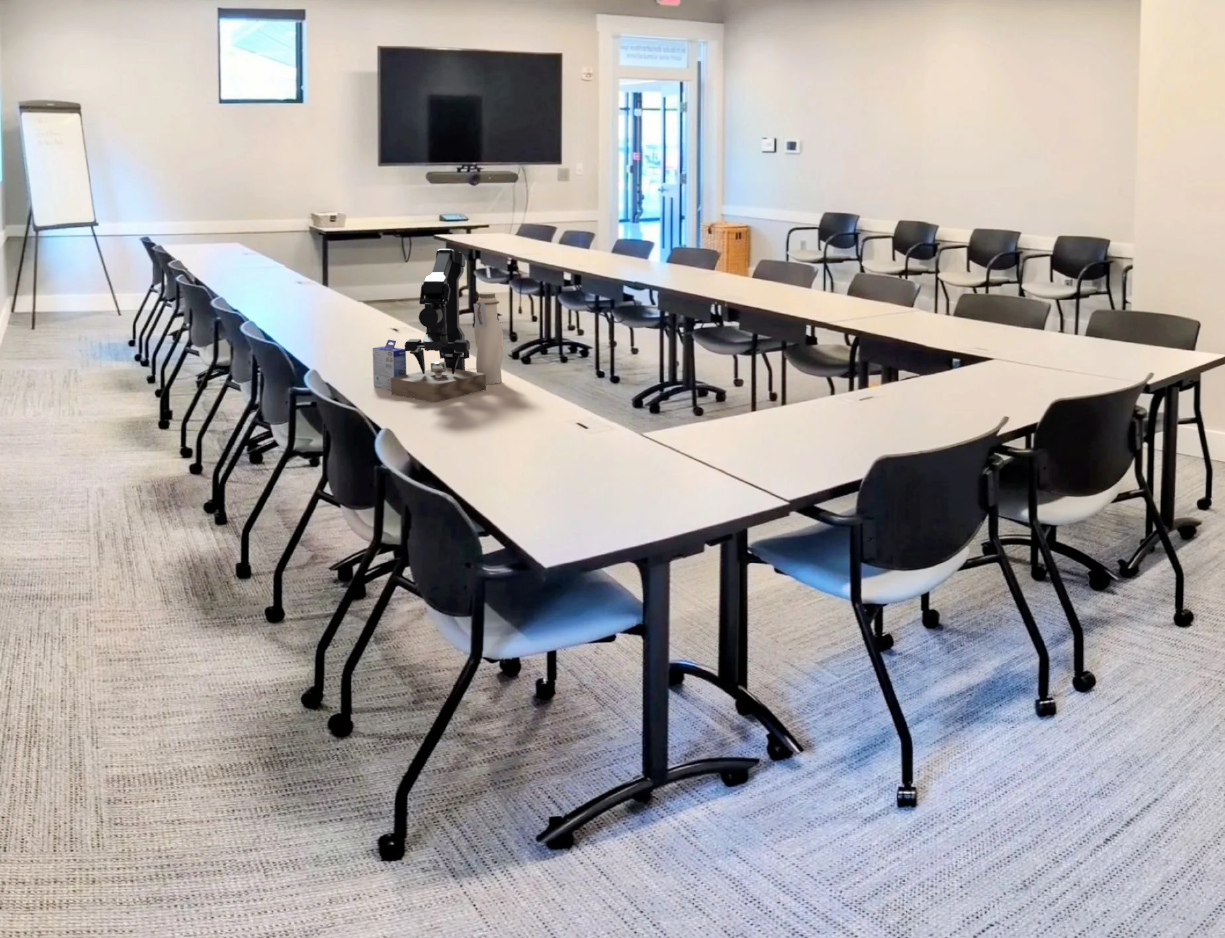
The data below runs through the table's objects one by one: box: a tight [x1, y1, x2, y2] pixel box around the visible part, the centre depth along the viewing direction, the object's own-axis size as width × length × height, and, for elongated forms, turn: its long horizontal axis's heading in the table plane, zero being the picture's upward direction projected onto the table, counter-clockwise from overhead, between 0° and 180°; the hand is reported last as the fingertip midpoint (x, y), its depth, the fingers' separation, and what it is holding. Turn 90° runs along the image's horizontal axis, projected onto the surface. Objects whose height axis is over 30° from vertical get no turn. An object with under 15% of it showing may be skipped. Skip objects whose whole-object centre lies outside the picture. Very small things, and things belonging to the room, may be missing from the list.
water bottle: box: [473, 291, 504, 385], centre depth 353 cm, size 10×9×28 cm
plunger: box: [430, 360, 446, 378], centre depth 341 cm, size 4×4×9 cm
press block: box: [390, 368, 487, 403], centre depth 342 cm, size 22×18×5 cm
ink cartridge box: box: [372, 339, 407, 390], centre depth 347 cm, size 10×6×14 cm, turn 53°
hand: (438, 373), depth 341 cm, fingers open, 9 cm apart
